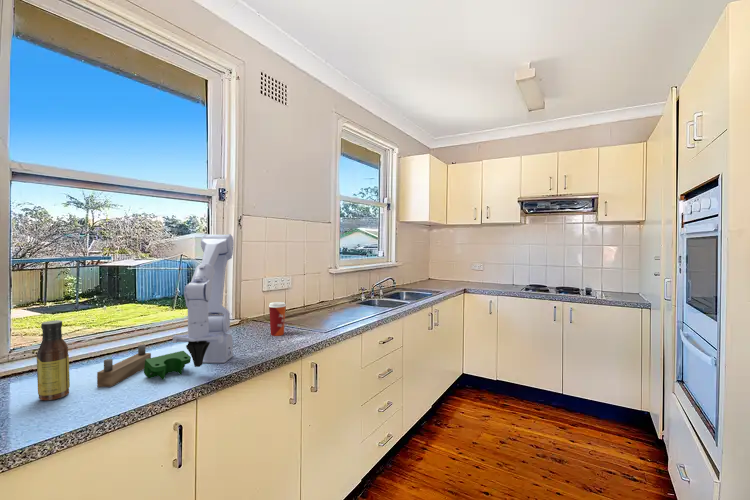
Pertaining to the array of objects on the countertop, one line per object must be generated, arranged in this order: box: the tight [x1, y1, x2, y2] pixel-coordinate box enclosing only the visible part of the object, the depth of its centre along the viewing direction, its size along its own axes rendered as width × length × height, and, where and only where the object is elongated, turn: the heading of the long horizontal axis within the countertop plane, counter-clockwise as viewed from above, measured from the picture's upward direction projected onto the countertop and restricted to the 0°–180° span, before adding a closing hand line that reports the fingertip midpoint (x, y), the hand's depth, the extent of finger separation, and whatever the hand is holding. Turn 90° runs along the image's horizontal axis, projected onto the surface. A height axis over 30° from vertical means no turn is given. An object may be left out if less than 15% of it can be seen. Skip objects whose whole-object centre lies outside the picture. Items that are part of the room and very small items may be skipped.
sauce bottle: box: [36, 319, 71, 402], centre depth 94 cm, size 7×6×20 cm
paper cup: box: [268, 301, 287, 337], centre depth 161 cm, size 8×8×14 cm
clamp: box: [143, 350, 192, 380], centre depth 111 cm, size 12×6×9 cm, turn 138°
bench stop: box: [96, 343, 152, 388], centre depth 110 cm, size 4×18×7 cm, turn 0°
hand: (198, 365), depth 111 cm, fingers closed
